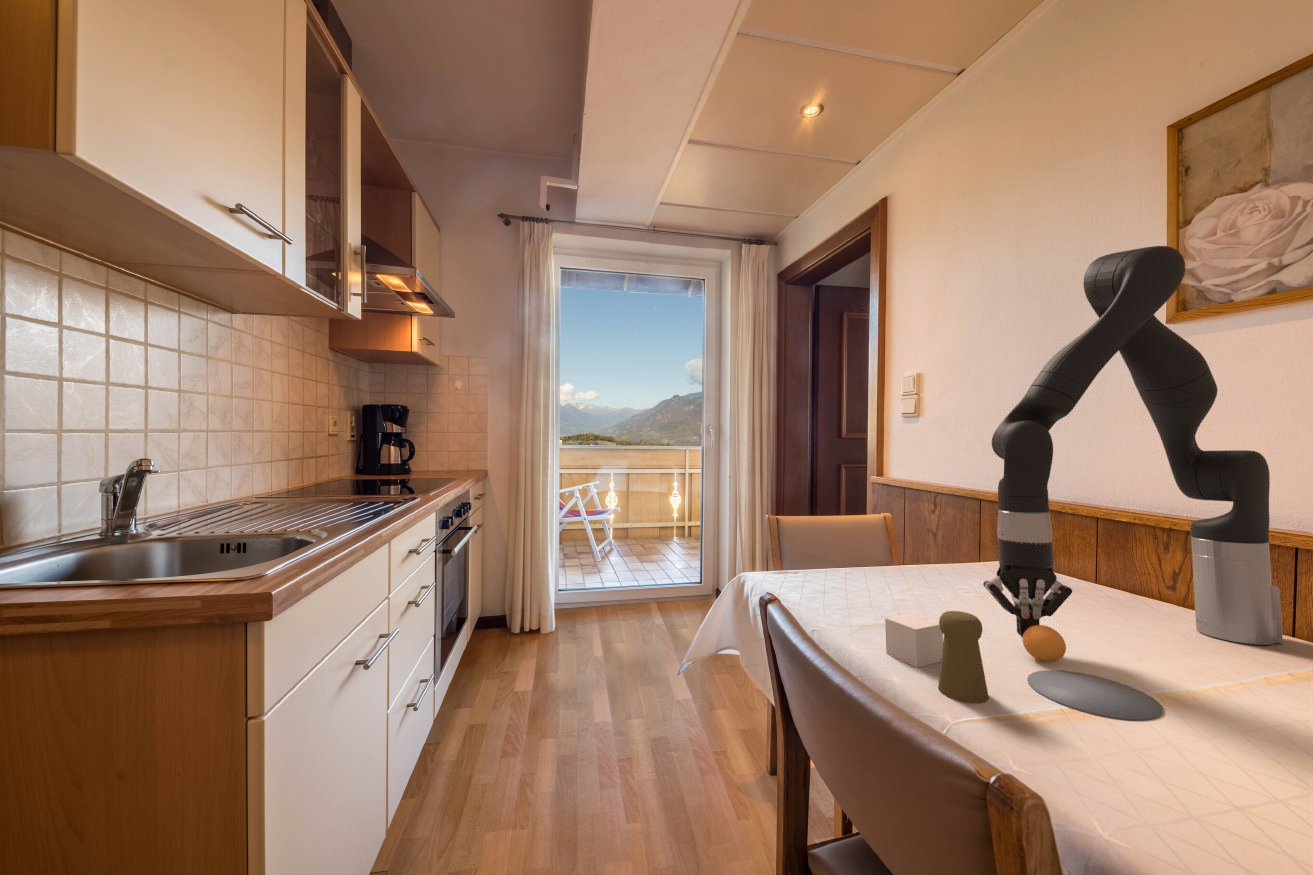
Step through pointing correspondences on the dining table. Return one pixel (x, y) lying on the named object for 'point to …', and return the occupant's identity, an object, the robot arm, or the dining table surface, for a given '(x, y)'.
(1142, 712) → the disc
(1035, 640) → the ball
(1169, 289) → the robot arm
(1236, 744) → the dining table surface
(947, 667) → the cork
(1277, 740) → the dining table surface
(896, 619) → the grey cube
